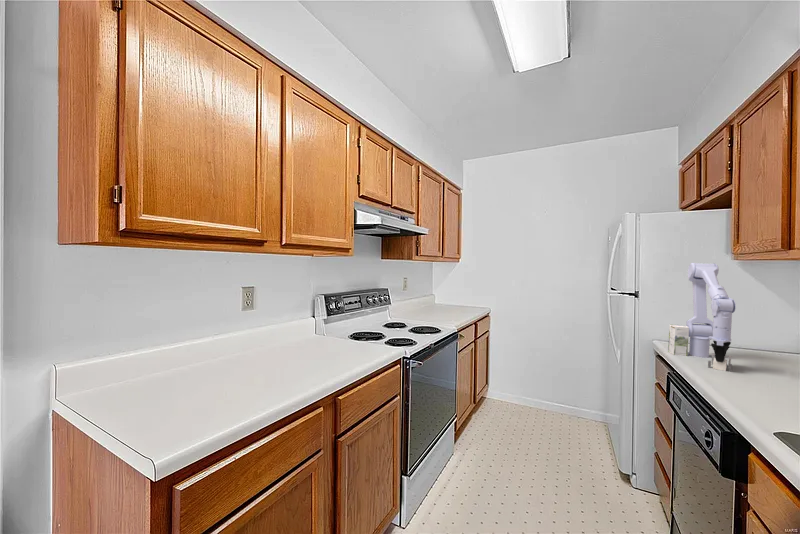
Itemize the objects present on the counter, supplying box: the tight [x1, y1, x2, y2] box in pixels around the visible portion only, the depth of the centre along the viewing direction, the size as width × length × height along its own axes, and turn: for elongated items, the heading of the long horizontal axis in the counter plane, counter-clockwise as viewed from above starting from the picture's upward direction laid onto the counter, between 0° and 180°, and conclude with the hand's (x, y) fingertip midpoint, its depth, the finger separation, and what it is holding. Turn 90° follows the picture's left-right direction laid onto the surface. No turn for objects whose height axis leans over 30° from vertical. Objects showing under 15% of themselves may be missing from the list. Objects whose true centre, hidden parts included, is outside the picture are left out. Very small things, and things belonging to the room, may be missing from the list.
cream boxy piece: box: [711, 353, 732, 368], centre depth 157 cm, size 3×6×4 cm, turn 46°
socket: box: [707, 360, 733, 372], centre depth 151 cm, size 2×7×3 cm, turn 46°
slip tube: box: [712, 357, 728, 372], centre depth 153 cm, size 8×4×6 cm, turn 136°
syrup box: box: [667, 323, 690, 357], centre depth 174 cm, size 6×6×14 cm
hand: (720, 360), depth 153 cm, fingers open, 7 cm apart
